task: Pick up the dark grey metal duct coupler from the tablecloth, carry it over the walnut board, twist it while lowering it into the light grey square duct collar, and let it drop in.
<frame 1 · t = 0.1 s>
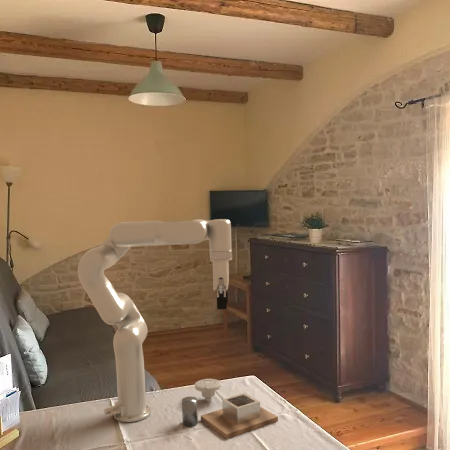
hand: (222, 305, 165), 37 cm above the table, tool pointing down, fingers open, 9 cm apart
showerhead: (208, 401, 177), on the table
coupler: (190, 423, 160), on the table
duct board: (239, 420, 160), on the table
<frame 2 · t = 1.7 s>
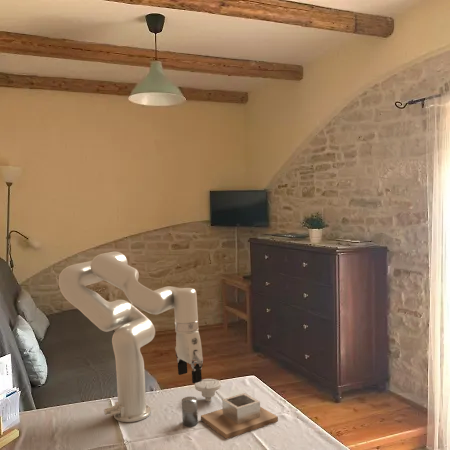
hand: (189, 377, 159), 15 cm above the table, tool pointing down, fingers open, 9 cm apart
nothing on the table moved.
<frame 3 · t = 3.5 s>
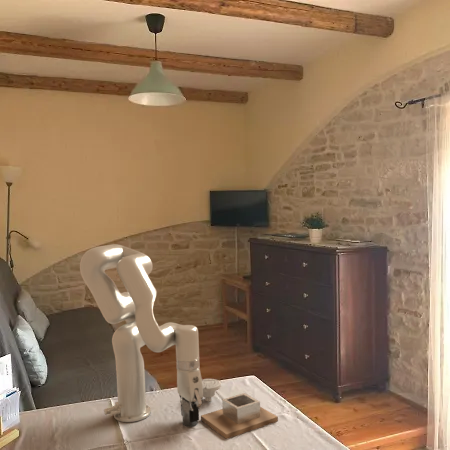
hand: (190, 417, 160), 2 cm above the table, tool pointing down, fingers closed on coupler, 5 cm apart
coupler: (190, 423, 160), on the table, touching gripper
everything else where it was.
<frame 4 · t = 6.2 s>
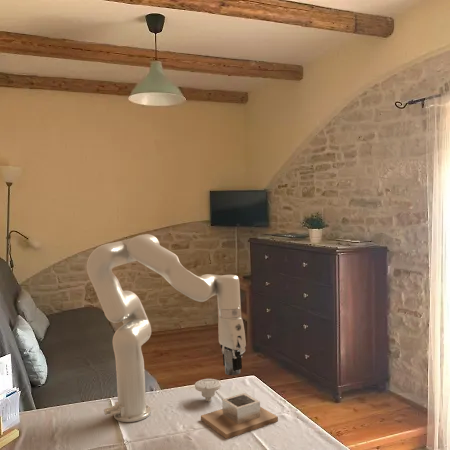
hand: (232, 366, 160), 18 cm above the table, tool pointing down, fingers closed on coupler, 5 cm apart
coupler: (232, 372, 160), point 16 cm above the table, touching gripper
everything else where it was.
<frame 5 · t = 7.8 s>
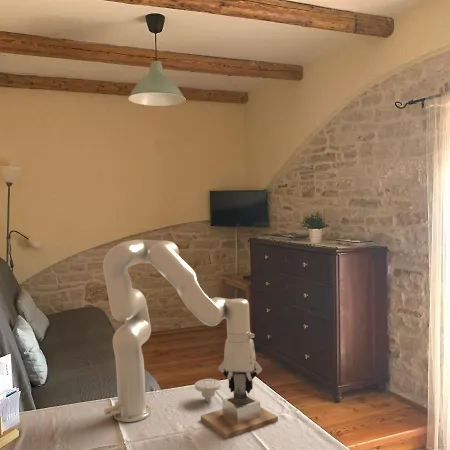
hand: (240, 390, 160), 10 cm above the table, tool pointing down, fingers closed on coupler, 5 cm apart
coupler: (241, 396, 160), point 8 cm above the table, touching gripper
everything else where it was.
when the fingers open (8 cm above the table, at t = 8.9 s): coupler drops 4 cm, resting on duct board.
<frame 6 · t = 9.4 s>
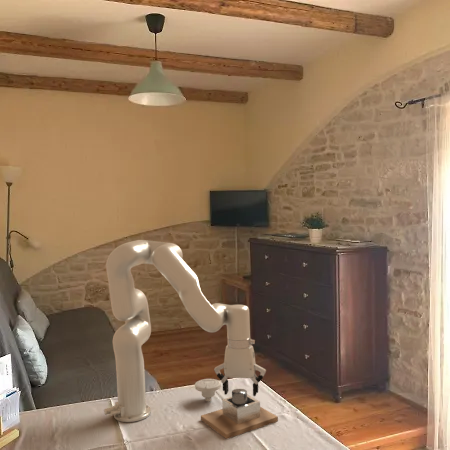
hand: (240, 393, 160), 9 cm above the table, tool pointing down, fingers open, 9 cm apart
coupler: (240, 415, 161), point 2 cm above the table, touching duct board
everything else where it was.
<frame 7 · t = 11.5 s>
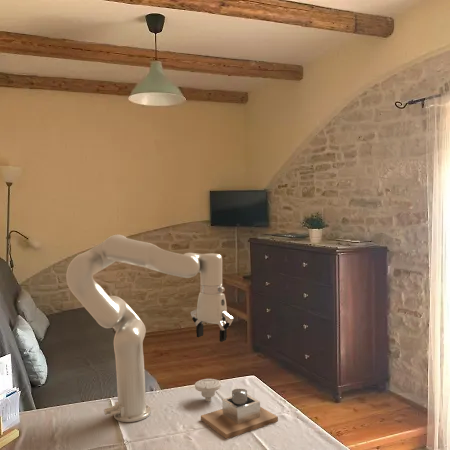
hand: (211, 338, 168), 25 cm above the table, tool pointing down, fingers open, 9 cm apart
nothing on the table moved.
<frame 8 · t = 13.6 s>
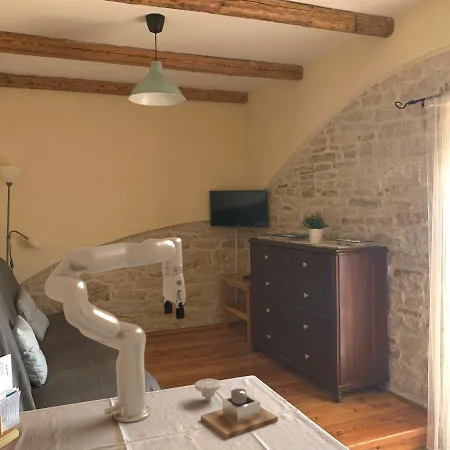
hand: (174, 316, 181), 30 cm above the table, tool pointing down, fingers open, 9 cm apart
nothing on the table moved.
at the end: coupler 0.4 cm from the target spot on the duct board, point 1.6 cm above the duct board's base; coupler tilted 2°; the gripper is holding nothing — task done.
